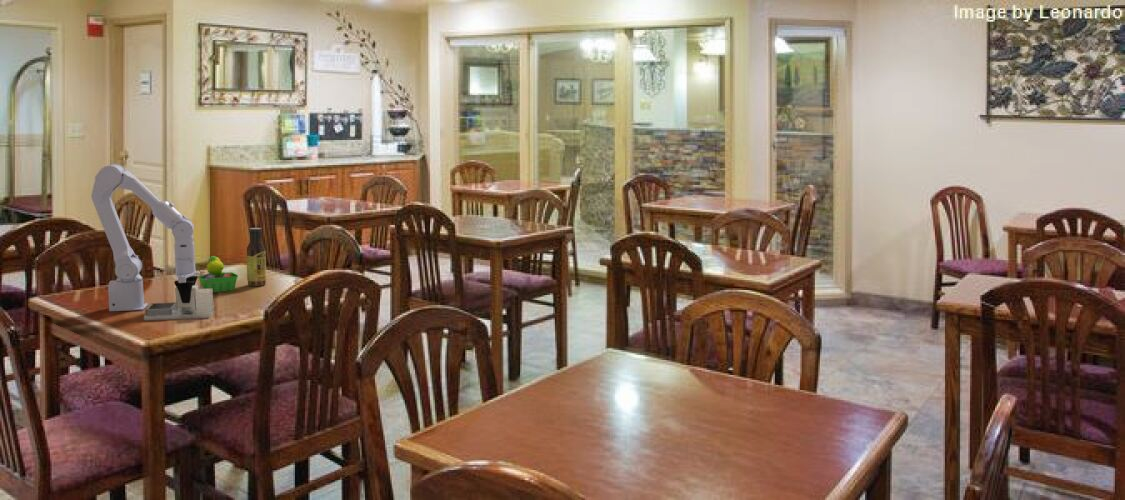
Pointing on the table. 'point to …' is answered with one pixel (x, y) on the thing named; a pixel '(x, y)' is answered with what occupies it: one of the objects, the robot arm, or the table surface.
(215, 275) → the fruit basket
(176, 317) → the grey boxy piece
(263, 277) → the sauce bottle
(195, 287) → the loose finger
